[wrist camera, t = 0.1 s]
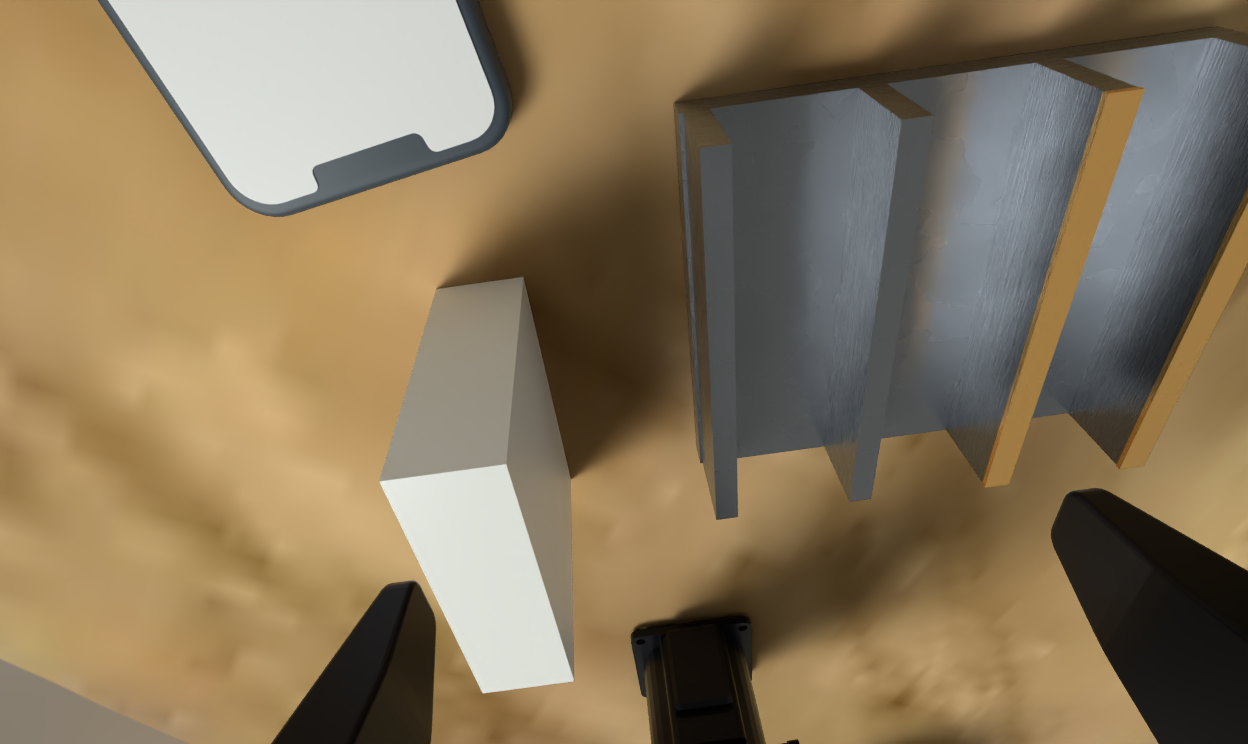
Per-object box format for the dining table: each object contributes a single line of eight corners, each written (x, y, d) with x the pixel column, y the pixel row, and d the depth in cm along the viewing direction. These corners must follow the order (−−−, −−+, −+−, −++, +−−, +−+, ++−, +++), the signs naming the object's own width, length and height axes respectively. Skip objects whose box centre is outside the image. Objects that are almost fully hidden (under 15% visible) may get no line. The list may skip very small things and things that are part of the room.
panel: (570, 479, 29) (574, 681, 22) (502, 488, 29) (482, 693, 22) (523, 276, 23) (506, 464, 16) (436, 288, 23) (379, 481, 16)
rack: (1075, 394, 28) (1145, 466, 25) (696, 446, 28) (714, 524, 25) (1217, 26, 19) (1353, 59, 16) (673, 103, 20) (697, 151, 16)
